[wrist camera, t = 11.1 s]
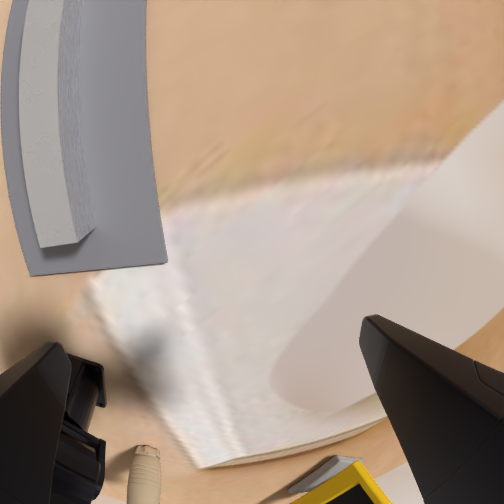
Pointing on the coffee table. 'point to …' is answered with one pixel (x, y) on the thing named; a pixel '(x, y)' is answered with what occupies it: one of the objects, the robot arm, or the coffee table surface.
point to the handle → (144, 477)
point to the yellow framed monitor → (340, 484)
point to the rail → (54, 122)
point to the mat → (95, 143)
